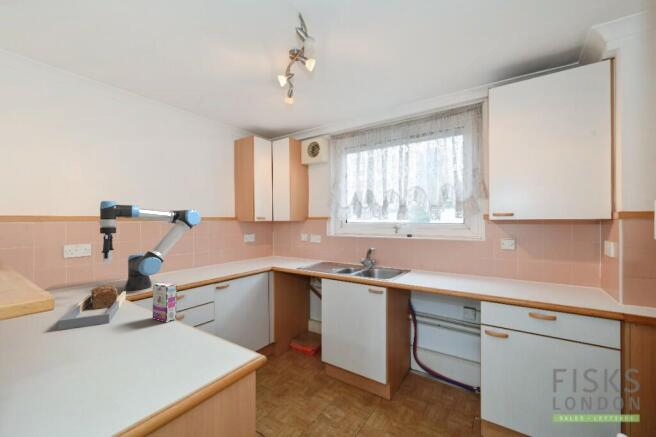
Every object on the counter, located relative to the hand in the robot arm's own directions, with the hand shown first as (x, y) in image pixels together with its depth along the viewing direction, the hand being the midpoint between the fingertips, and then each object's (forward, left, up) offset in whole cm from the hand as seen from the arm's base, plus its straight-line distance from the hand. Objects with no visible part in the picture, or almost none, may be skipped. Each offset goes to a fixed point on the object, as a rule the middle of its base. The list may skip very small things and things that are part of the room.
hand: (107, 262), depth 161 cm
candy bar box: (-31, +57, -21) cm, 68 cm away
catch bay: (-1, +27, -21) cm, 34 cm away
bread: (-1, +14, -22) cm, 25 cm away
